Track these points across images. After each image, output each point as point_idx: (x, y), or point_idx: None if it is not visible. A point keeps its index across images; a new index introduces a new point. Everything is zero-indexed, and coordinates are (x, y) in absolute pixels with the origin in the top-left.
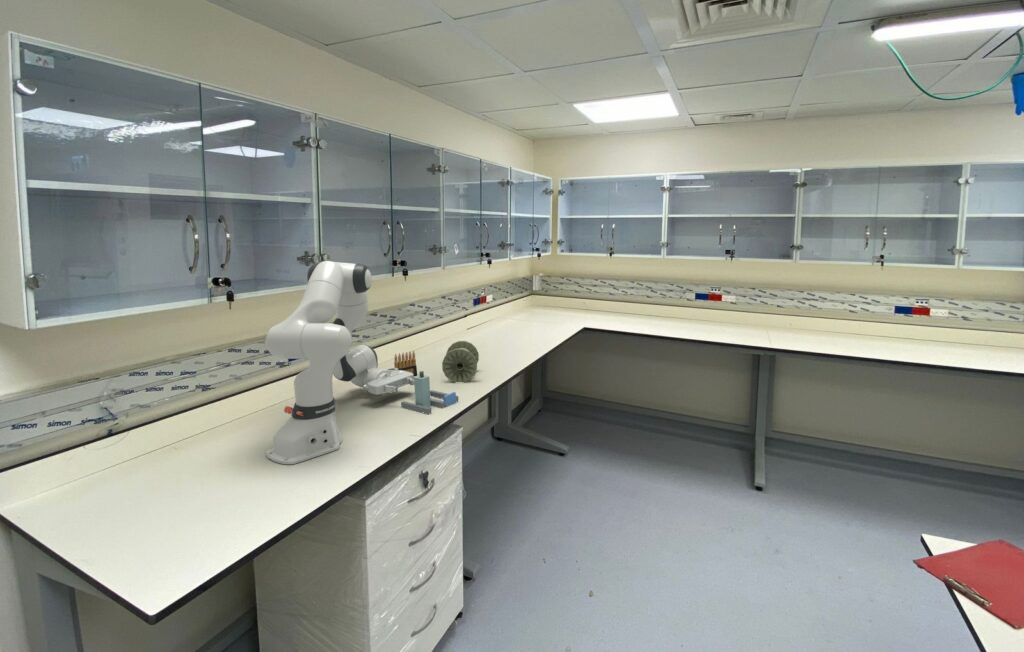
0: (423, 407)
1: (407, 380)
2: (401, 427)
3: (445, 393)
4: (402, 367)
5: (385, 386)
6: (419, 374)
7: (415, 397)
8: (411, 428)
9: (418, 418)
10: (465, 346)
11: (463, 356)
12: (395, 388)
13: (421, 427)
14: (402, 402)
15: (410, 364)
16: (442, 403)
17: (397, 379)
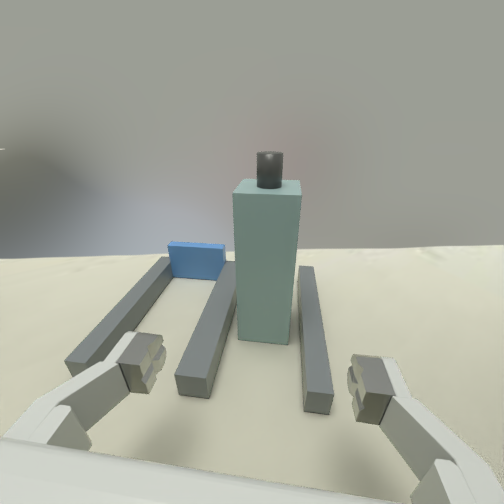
0: (311, 281)
1: (70, 438)
2: (446, 289)
3: (131, 290)
4: None
5: (497, 485)
6: (280, 170)
7: (291, 302)
8: (418, 271)
9: (357, 288)
10: None
11: None
12: (380, 359)
13: (389, 260)
14: (330, 384)
15: None
16: None
17: (198, 473)
